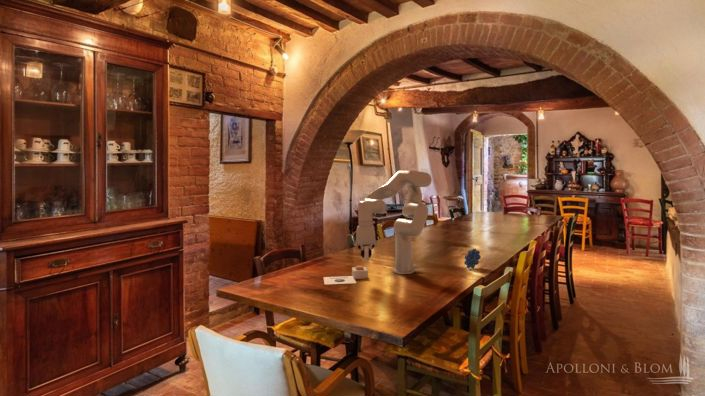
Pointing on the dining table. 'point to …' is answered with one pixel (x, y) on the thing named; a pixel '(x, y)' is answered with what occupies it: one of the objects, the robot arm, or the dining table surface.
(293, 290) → the dining table surface
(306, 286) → the dining table surface
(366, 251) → the marker
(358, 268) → the button
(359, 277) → the button housing
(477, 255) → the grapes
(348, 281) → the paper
